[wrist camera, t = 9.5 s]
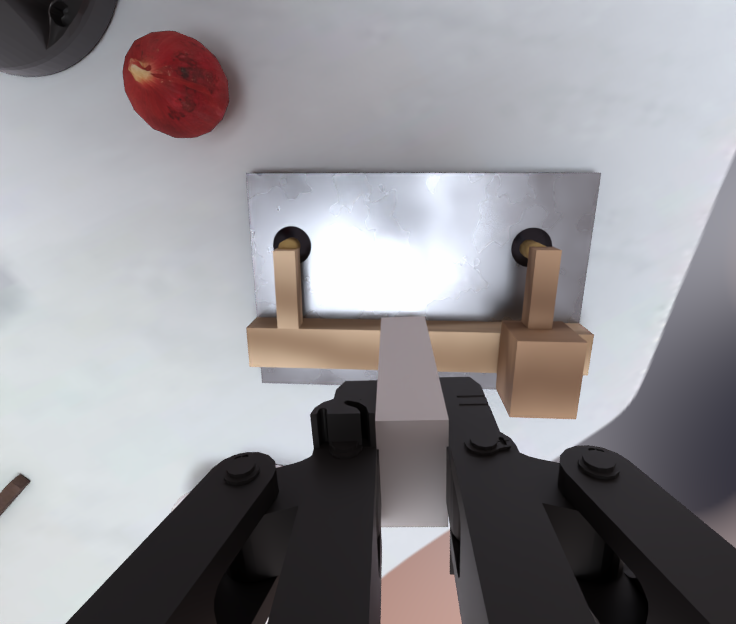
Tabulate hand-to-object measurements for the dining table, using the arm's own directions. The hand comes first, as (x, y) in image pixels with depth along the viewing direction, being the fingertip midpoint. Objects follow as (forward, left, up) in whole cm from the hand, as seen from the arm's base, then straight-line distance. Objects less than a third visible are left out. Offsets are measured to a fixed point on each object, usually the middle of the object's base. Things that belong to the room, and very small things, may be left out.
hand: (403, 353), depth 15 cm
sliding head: (+3, +9, -17) cm, 19 cm away
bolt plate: (+2, +1, -18) cm, 18 cm away
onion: (-11, -14, -18) cm, 26 cm away
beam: (+3, +1, -17) cm, 17 cm away
